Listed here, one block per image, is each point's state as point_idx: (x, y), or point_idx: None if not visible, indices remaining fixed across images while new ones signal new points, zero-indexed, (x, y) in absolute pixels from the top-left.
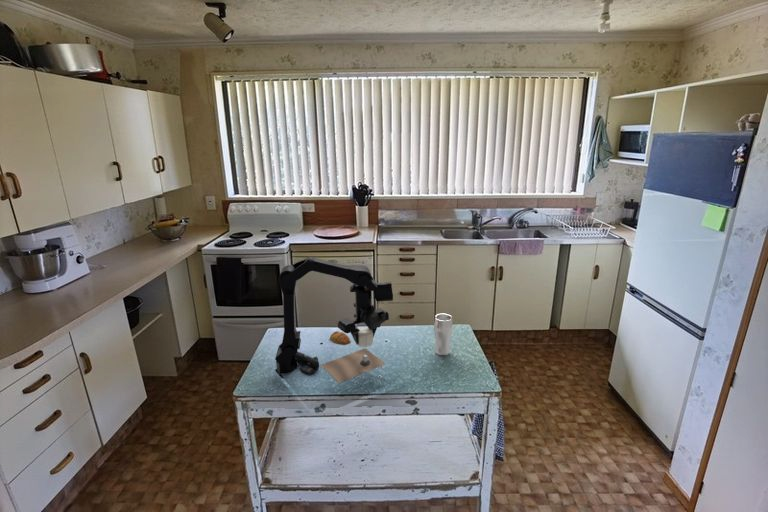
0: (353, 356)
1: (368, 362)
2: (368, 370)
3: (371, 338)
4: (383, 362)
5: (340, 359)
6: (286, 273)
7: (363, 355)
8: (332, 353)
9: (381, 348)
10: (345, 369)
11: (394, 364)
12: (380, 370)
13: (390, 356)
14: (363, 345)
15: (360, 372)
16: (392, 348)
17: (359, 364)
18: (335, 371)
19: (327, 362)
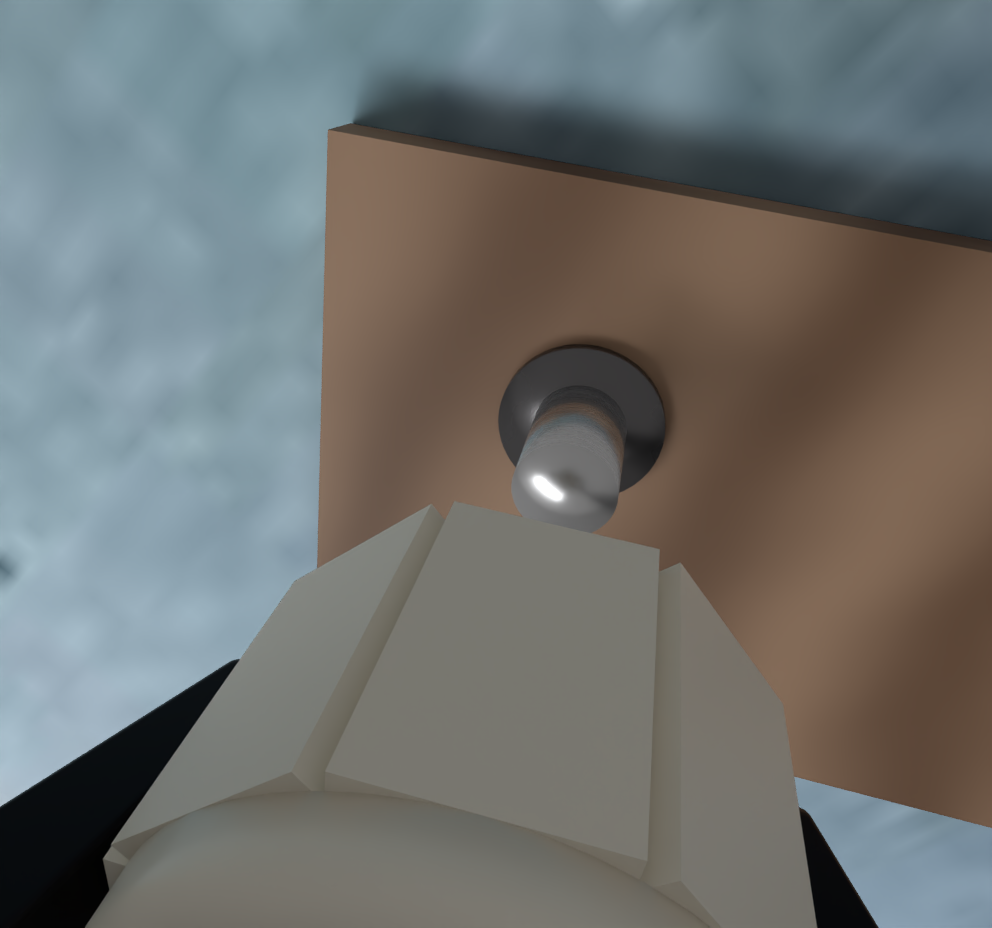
0: None
1: (544, 385)
2: (724, 216)
3: (374, 682)
4: (343, 196)
5: None
6: None
7: (573, 521)
8: None
9: (131, 512)
10: (946, 534)
11: (200, 55)
12: (506, 106)
13: (130, 286)
14: (724, 656)
15: (876, 282)
16: (5, 406)
17: (676, 463)
18: None
19: (928, 806)
